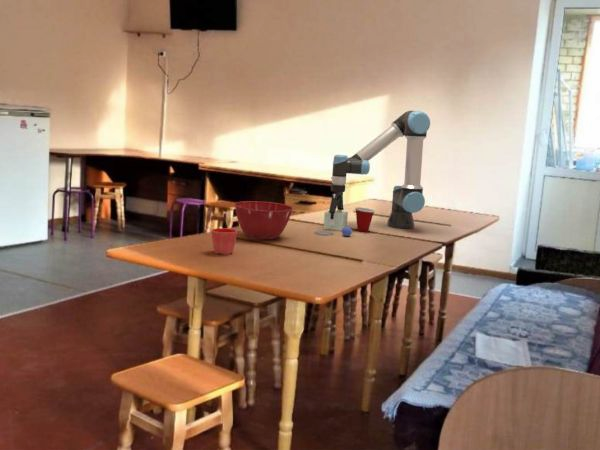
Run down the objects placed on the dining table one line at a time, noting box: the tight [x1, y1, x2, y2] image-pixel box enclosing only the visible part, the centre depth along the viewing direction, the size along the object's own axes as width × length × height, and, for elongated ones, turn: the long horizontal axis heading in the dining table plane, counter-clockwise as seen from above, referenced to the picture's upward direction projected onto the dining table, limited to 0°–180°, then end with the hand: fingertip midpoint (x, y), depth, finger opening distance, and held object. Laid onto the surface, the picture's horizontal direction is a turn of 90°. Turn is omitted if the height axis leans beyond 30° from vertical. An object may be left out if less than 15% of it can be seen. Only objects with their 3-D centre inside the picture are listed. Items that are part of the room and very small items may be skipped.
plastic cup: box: [354, 206, 376, 233], centre depth 365 cm, size 11×11×12 cm
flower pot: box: [210, 227, 238, 255], centre depth 290 cm, size 11×11×10 cm
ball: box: [341, 225, 353, 237], centre depth 347 cm, size 5×5×5 cm
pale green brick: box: [323, 210, 349, 232], centre depth 368 cm, size 10×10×9 cm
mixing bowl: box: [233, 200, 294, 240], centre depth 330 cm, size 28×28×16 cm
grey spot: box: [313, 230, 334, 236], centre depth 351 cm, size 10×10×1 cm
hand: (335, 223), depth 368 cm, fingers open, 13 cm apart
